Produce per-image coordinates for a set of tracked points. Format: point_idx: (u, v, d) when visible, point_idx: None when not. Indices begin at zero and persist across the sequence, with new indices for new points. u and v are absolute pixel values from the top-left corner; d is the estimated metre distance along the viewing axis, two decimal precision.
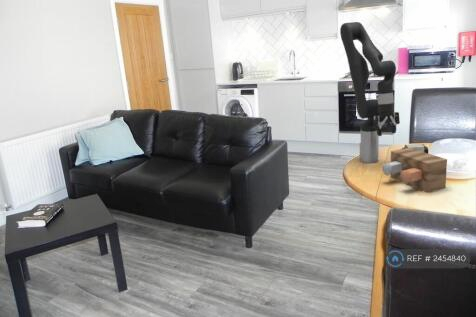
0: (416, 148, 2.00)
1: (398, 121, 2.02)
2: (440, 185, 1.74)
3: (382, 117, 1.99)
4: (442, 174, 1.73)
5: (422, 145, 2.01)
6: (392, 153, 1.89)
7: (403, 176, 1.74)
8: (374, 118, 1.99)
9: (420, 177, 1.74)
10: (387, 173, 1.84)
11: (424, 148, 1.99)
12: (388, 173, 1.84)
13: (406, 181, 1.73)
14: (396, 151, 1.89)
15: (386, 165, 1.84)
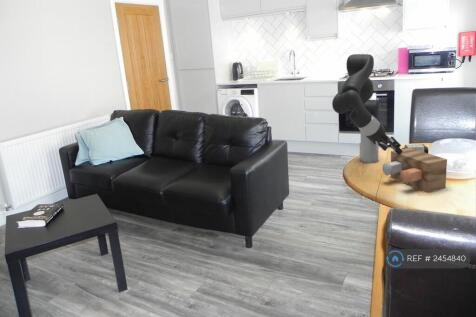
0: (416, 148, 2.00)
1: (395, 148, 1.59)
2: (440, 185, 1.74)
3: None
4: (442, 174, 1.73)
5: (422, 145, 2.01)
6: (392, 153, 1.89)
7: (403, 176, 1.74)
8: None
9: (420, 177, 1.74)
10: (387, 173, 1.84)
11: (424, 148, 1.99)
12: (388, 173, 1.84)
13: (406, 181, 1.73)
14: None
15: (386, 165, 1.84)
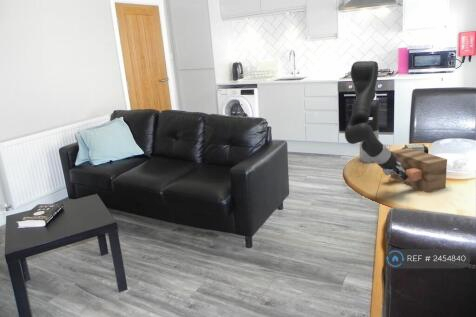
0: (416, 148, 2.00)
1: (400, 175, 1.69)
2: (440, 185, 1.74)
3: None
4: (442, 174, 1.73)
5: (422, 145, 2.01)
6: None
7: None
8: None
9: None
10: (387, 173, 1.84)
11: (424, 148, 1.99)
12: (388, 173, 1.84)
13: (408, 181, 1.74)
14: (396, 151, 1.89)
15: None
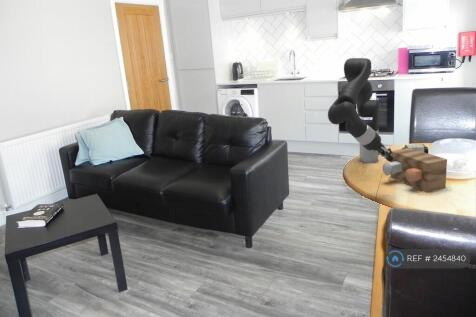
0: (416, 148, 2.00)
1: (385, 156, 1.65)
2: (440, 185, 1.74)
3: None
4: (442, 174, 1.73)
5: (422, 145, 2.01)
6: (392, 153, 1.89)
7: (408, 174, 1.75)
8: None
9: None
10: (387, 173, 1.84)
11: (424, 148, 1.99)
12: (388, 173, 1.84)
13: (411, 180, 1.74)
14: (396, 151, 1.89)
15: (386, 165, 1.84)
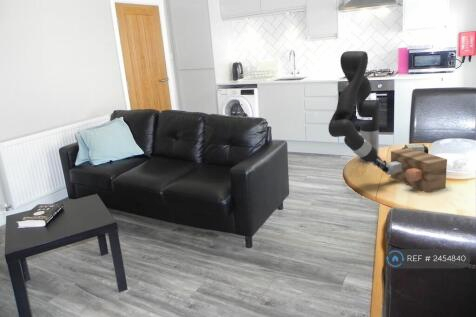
0: (416, 148, 2.00)
1: (381, 167, 1.80)
2: (440, 185, 1.74)
3: None
4: (442, 174, 1.73)
5: (422, 145, 2.01)
6: (392, 153, 1.89)
7: (408, 174, 1.75)
8: None
9: None
10: (388, 173, 1.84)
11: (424, 148, 1.99)
12: (389, 173, 1.84)
13: (411, 180, 1.74)
14: (396, 151, 1.89)
15: (387, 165, 1.84)
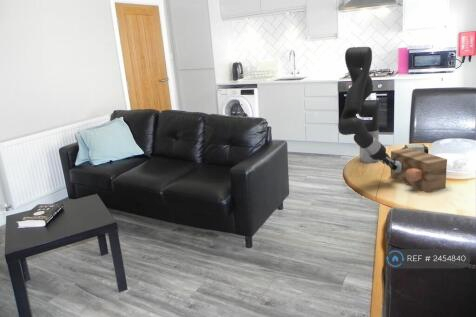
0: (416, 148, 2.00)
1: (390, 165, 1.81)
2: (440, 185, 1.74)
3: None
4: (442, 174, 1.73)
5: (422, 145, 2.01)
6: (392, 153, 1.89)
7: (408, 174, 1.75)
8: None
9: None
10: (397, 171, 1.86)
11: (424, 148, 1.99)
12: (398, 171, 1.85)
13: (411, 180, 1.74)
14: (396, 151, 1.89)
15: (396, 163, 1.85)
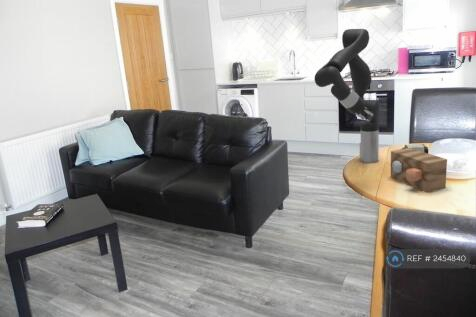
0: (416, 148, 2.00)
1: (368, 119, 1.77)
2: (440, 185, 1.74)
3: None
4: (442, 174, 1.73)
5: (422, 145, 2.01)
6: (392, 153, 1.89)
7: (408, 174, 1.75)
8: None
9: None
10: (397, 171, 1.86)
11: (424, 148, 1.99)
12: (398, 171, 1.85)
13: (411, 180, 1.74)
14: (396, 151, 1.89)
15: (396, 163, 1.85)
